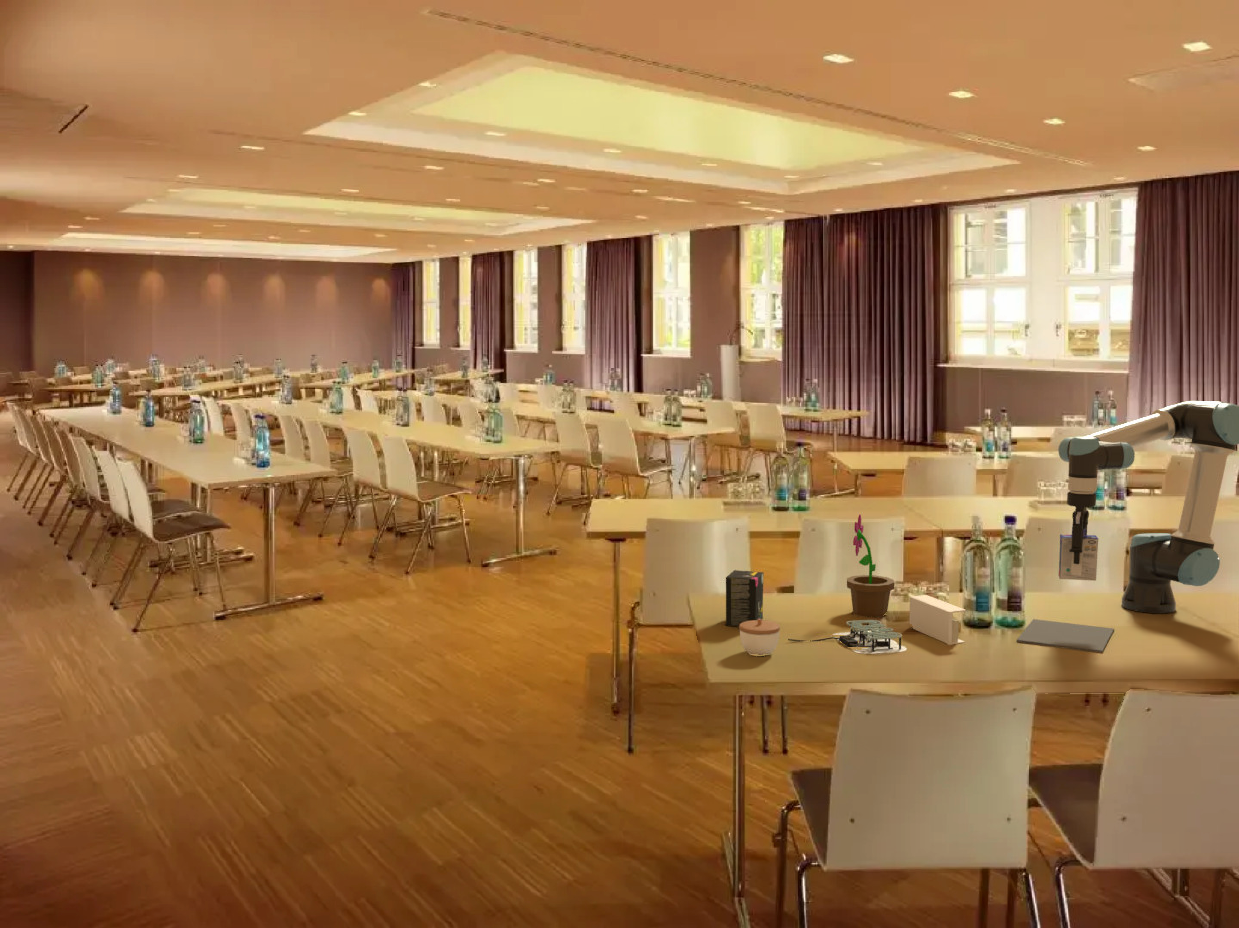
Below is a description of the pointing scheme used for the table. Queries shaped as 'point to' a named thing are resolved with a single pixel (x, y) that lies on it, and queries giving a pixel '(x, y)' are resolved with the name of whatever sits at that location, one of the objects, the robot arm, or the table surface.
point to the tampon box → (744, 597)
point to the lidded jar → (759, 636)
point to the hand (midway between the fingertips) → (1077, 572)
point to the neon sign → (869, 638)
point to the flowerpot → (868, 584)
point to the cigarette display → (935, 618)
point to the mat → (1066, 635)
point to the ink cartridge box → (1087, 559)
